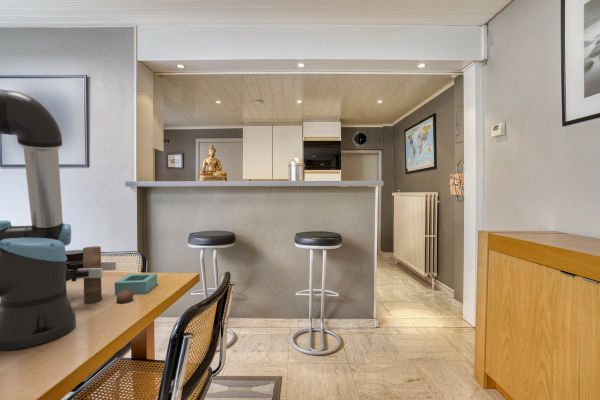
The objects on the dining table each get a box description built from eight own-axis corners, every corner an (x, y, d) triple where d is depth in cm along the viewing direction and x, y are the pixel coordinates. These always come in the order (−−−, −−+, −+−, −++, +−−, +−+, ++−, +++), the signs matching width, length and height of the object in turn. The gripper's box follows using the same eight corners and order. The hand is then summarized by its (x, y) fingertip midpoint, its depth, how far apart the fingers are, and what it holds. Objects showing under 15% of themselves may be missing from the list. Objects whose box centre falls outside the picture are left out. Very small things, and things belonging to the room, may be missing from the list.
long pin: (96, 303, 88) (95, 248, 87) (80, 303, 87) (79, 249, 87) (104, 297, 92) (103, 246, 92) (89, 298, 92) (88, 246, 91)
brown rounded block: (129, 302, 88) (129, 293, 88) (113, 304, 87) (113, 294, 87) (135, 297, 93) (135, 288, 93) (120, 298, 92) (120, 289, 92)
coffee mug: (78, 272, 122) (77, 249, 121) (92, 274, 119) (92, 250, 119) (46, 280, 111) (46, 254, 110) (62, 282, 108) (61, 256, 108)
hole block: (146, 293, 97) (146, 281, 96) (114, 294, 95) (114, 282, 95) (157, 284, 106) (157, 273, 106) (128, 284, 105) (128, 274, 105)
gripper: (54, 273, 98) (124, 271, 100) (-2, 295, 77) (89, 292, 80) (53, 252, 97) (124, 250, 100) (-2, 268, 77) (88, 265, 80)
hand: (108, 269), depth 90 cm, fingers open, 8 cm apart
